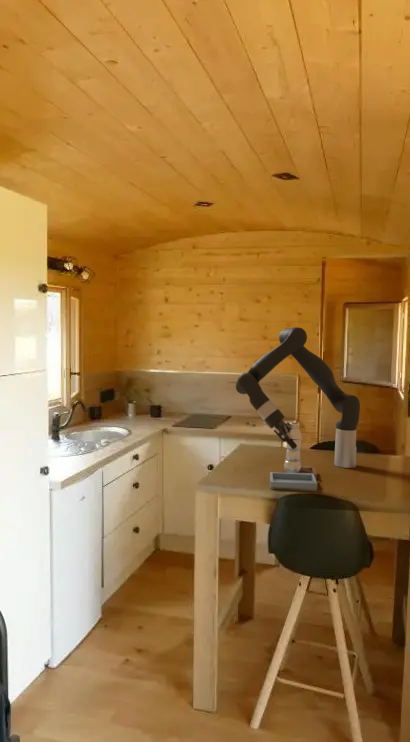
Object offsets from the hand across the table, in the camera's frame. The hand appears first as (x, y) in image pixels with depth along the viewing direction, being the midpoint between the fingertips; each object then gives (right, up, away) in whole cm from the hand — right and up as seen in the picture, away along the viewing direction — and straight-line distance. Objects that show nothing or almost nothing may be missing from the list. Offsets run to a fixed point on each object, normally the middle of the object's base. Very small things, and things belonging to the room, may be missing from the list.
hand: (297, 446), depth 225 cm
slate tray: (-2, -16, +2) cm, 16 cm away
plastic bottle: (-2, -11, +2) cm, 11 cm away
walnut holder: (+4, -15, +17) cm, 23 cm away
